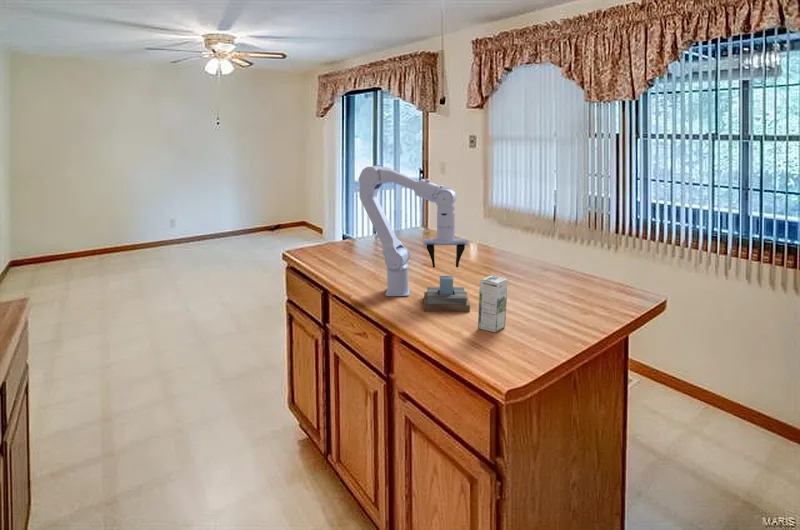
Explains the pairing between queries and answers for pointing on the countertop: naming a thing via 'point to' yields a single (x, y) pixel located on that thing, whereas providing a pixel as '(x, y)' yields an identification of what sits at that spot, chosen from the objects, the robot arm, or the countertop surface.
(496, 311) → the syrup box
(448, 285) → the blue peg
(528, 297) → the countertop surface
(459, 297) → the socket block
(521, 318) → the countertop surface
